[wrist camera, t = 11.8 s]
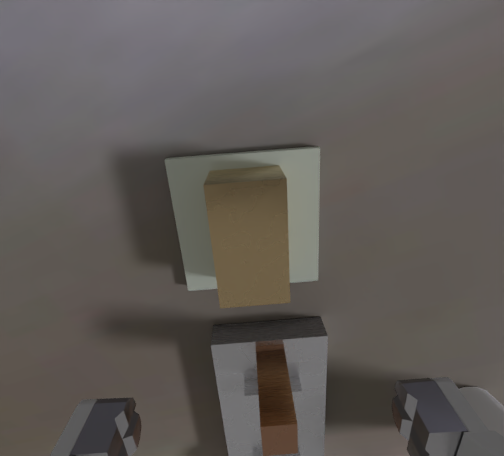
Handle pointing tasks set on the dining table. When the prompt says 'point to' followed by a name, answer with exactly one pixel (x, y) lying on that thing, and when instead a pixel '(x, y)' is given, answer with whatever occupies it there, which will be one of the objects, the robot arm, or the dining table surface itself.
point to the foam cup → (485, 408)
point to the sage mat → (196, 220)
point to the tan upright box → (249, 235)
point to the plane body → (272, 386)
